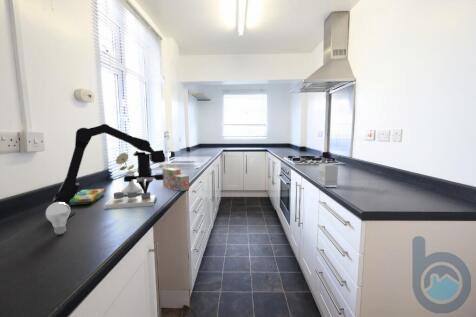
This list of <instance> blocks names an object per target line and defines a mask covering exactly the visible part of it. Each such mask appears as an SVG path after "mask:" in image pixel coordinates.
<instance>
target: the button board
mask: <svg viewBox="0 0 476 317" xmlns="http://www.w3.org/2000/svg"><path fill="white" fill-rule="evenodd" d="M156 201H157V194H150V198H148V199H142V198H141V195H137V197H135V198H128V196H124V197H123V198H120V199H114V197H112V198H110V199H109V200H108V201H107V202H106V203H105V204H104V209H105V210H107V209H119V208H120V209H121V208H123V209H124V208H137V207H149V206H150V207H151V205H152V206H154V205H155V203H156ZM154 202H155V203H154Z"/></svg>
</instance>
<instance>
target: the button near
mask: <svg viewBox="0 0 476 317" xmlns="http://www.w3.org/2000/svg"><path fill="white" fill-rule="evenodd" d="M123 197H125V195H124V194H123V192H121V191H117V192H114V193H113V198H114V199H120V198H123Z"/></svg>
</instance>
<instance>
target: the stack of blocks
mask: <svg viewBox="0 0 476 317" xmlns="http://www.w3.org/2000/svg"><path fill="white" fill-rule="evenodd" d="M161 171H162V173H163V174H164V179H163V180H162V186H163V187H165V186H166V187H165V188H168V187H170V188H169V189H172V188H175V189H178V190H177V191H179V190H180V191H179V192H183V191H189V189H190V183H189V182H190V176H189V174H188V175H187V174H183V173H181V169H179V168H177V167H176V168H175V167H166V168H162V170H161ZM175 189H174V190H175Z"/></svg>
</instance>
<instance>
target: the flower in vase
mask: <svg viewBox="0 0 476 317" xmlns="http://www.w3.org/2000/svg"><path fill="white" fill-rule="evenodd" d="M128 160H129V154H128V153H127V152H123V153H120V154H119V155H118V156H117V157H116V159H115V162H116V164H117V165H122V164H124V163H125V164H124V165H125V166H121V167H120V168H119V171H125V170H126V169H127V171H125V173H126V175H128V174H134V175H135V172H136V170H132V169H134V164H132V165H129V166H127V163H126V162H127V161H128ZM130 191H137V195H138V194H140V193H143V189H142V187H141V186H139V185H137V184H135V183H134V180H132V181H131V182H128V184H127V185H126V186H125V187H124V188H123V189H121V190H120V192H123V194H124V196H128V192H130Z"/></svg>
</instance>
